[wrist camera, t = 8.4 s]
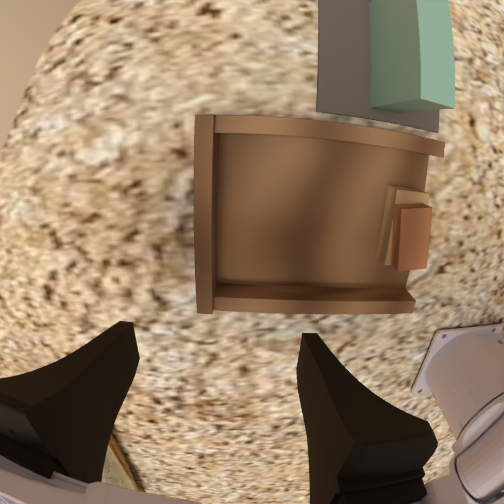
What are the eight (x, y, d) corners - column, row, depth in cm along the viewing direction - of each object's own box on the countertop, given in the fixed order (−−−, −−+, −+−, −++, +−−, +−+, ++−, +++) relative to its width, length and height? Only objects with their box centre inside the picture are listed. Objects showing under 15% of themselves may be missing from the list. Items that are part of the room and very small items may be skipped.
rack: (424, 140, 18) (449, 142, 15) (398, 294, 23) (414, 316, 20) (205, 117, 18) (194, 114, 15) (204, 289, 23) (197, 313, 20)
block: (395, 10, 15) (443, -26, 8) (396, 112, 18) (454, 108, 11) (368, 3, 15) (410, -39, 8) (369, 107, 18) (420, 98, 11)
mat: (434, 16, 15) (436, 15, 14) (436, 132, 18) (438, 132, 18) (318, -13, 15) (319, -15, 14) (316, 111, 18) (317, 111, 18)
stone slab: (90, 501, 37) (18, 408, 25) (96, 485, 41) (33, 386, 29) (152, 519, 37) (105, 440, 25) (156, 501, 41) (117, 412, 29)
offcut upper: (422, 203, 18) (431, 207, 17) (418, 261, 19) (426, 268, 18) (393, 204, 18) (401, 209, 17) (390, 264, 19) (397, 271, 18)
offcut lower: (418, 189, 19) (429, 193, 17) (406, 257, 21) (416, 265, 19) (387, 184, 19) (397, 189, 17) (376, 256, 21) (384, 265, 19)
